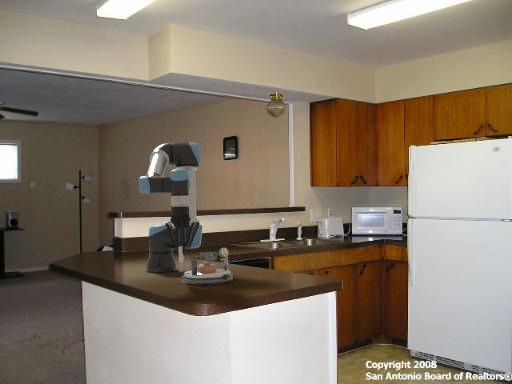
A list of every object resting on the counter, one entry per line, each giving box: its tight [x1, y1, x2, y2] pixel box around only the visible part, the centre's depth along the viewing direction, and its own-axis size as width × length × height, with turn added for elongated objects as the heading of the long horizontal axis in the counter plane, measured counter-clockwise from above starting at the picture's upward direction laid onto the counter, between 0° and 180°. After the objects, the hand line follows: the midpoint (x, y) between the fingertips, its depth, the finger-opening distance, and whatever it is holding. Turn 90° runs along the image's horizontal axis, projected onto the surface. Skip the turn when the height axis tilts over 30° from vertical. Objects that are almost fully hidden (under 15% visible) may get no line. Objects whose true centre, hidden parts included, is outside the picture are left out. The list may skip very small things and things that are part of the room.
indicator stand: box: [218, 247, 229, 270], centre depth 231 cm, size 5×6×13 cm
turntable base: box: [181, 273, 234, 286], centre depth 221 cm, size 22×22×2 cm
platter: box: [183, 258, 231, 279], centre depth 221 cm, size 22×20×8 cm
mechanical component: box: [199, 251, 218, 264], centre depth 243 cm, size 3×10×10 cm, turn 51°
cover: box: [197, 261, 217, 274], centre depth 221 cm, size 8×8×4 cm
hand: (181, 261), depth 215 cm, fingers closed
